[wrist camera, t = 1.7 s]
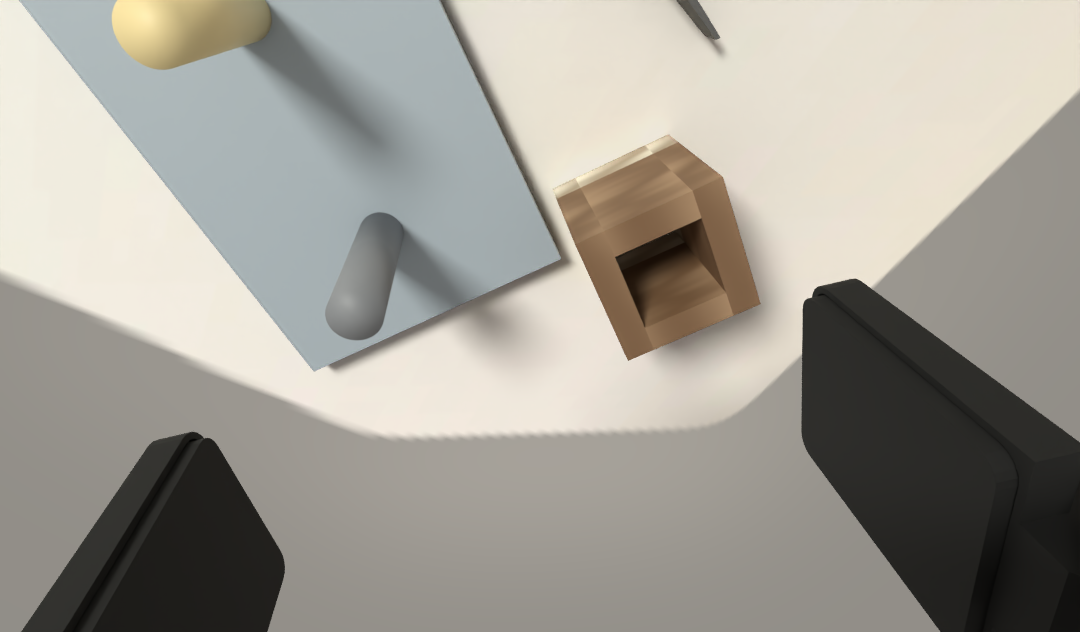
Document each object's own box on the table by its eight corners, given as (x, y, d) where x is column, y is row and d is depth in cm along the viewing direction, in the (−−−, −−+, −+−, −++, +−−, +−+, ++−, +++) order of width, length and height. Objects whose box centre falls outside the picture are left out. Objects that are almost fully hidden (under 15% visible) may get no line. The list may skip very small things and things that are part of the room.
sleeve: (668, 134, 29) (722, 176, 23) (704, 241, 32) (760, 303, 26) (552, 188, 30) (575, 244, 24) (597, 288, 32) (628, 360, 26)
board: (334, -224, 22) (256, -342, 14) (558, 249, 31) (590, 343, 23) (11, -37, 23) (-230, -43, 15) (318, 358, 33) (271, 482, 25)
